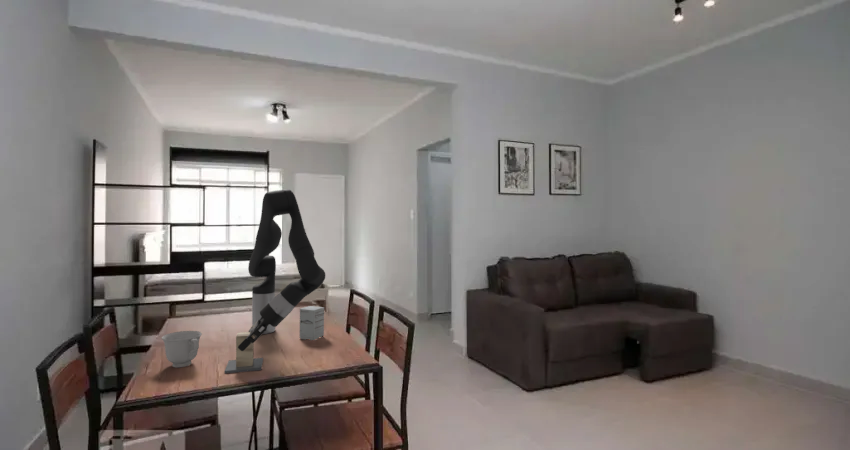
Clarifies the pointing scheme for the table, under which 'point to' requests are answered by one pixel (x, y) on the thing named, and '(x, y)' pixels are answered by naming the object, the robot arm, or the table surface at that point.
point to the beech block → (247, 355)
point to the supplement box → (311, 322)
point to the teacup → (181, 347)
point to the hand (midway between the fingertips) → (241, 345)
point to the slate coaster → (255, 367)
